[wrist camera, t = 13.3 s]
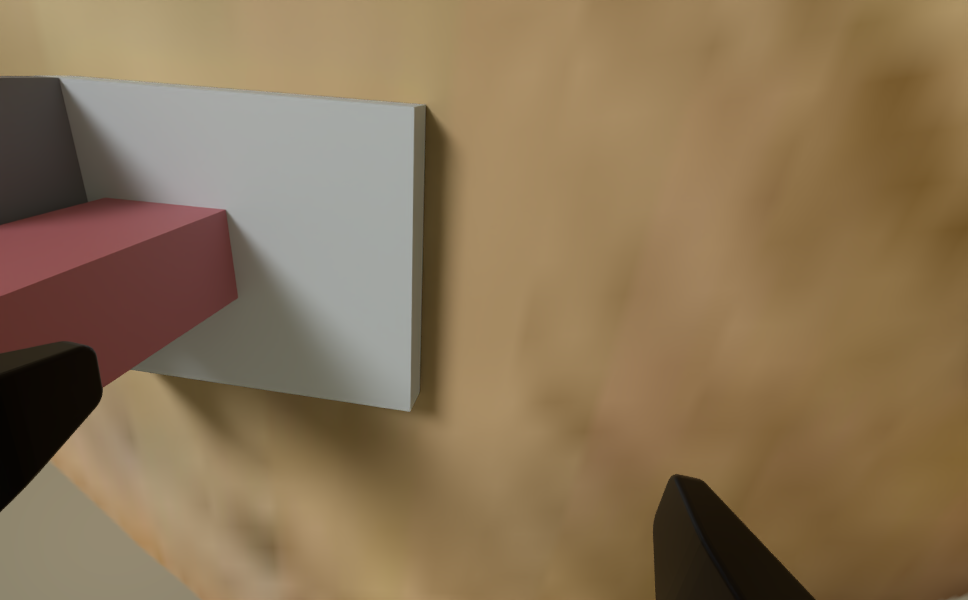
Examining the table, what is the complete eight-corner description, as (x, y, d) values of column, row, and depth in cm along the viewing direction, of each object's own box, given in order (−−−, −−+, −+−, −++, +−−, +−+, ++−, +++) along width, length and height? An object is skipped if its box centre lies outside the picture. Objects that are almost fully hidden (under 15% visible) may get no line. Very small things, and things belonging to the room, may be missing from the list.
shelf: (425, 104, 19) (340, 121, 12) (419, 392, 23) (356, 522, 17) (70, 75, 20) (-186, 75, 13) (132, 350, 25) (-33, 452, 18)
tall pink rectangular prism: (225, 209, 20) (-131, 346, 10) (238, 298, 21) (-62, 496, 11) (105, 197, 20) (-348, 315, 10) (125, 284, 22) (-256, 461, 12)
